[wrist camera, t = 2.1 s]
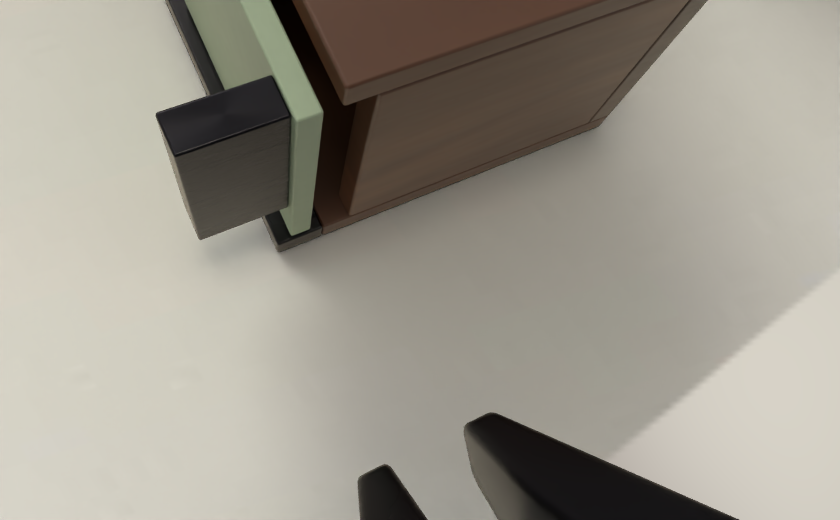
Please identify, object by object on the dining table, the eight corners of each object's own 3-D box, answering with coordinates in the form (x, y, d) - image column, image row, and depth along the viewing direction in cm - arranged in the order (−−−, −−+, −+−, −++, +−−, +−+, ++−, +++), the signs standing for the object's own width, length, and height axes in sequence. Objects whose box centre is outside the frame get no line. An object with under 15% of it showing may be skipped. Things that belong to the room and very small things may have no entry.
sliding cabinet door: (311, 229, 22) (324, 112, 16) (209, 269, 22) (176, 164, 15) (201, -9, 24) (171, -210, 17) (103, 20, 23) (29, -179, 16)
